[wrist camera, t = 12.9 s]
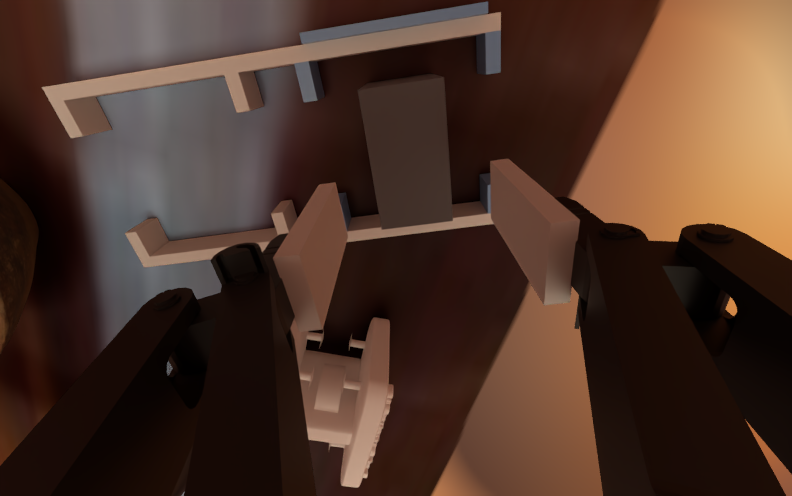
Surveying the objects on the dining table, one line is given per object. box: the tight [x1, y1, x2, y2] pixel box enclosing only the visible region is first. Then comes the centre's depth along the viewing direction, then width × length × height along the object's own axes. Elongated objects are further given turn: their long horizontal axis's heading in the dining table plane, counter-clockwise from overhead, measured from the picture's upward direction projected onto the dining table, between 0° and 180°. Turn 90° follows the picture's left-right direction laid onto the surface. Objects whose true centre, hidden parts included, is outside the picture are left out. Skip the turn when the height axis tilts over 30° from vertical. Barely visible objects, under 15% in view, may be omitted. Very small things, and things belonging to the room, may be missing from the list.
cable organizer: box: [290, 317, 393, 488], centre depth 35 cm, size 15×11×12 cm
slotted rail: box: [42, 2, 501, 267], centre depth 28 cm, size 32×16×4 cm, turn 98°
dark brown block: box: [358, 73, 453, 230], centre depth 25 cm, size 5×9×8 cm, turn 8°
